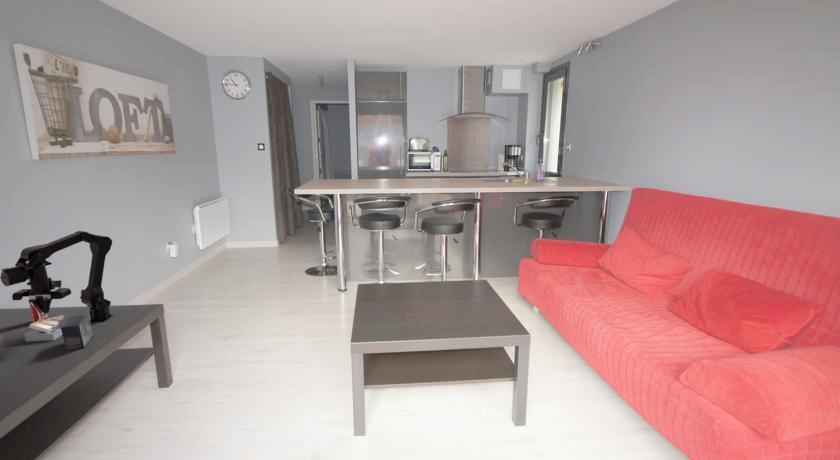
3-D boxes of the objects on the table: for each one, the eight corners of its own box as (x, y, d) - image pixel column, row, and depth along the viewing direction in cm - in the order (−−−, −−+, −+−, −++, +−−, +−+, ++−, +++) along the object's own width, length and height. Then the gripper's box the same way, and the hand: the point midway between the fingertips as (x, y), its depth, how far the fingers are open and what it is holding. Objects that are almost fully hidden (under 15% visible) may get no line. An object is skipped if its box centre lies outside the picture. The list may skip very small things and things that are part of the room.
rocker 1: (51, 329, 173) (52, 326, 172) (47, 332, 170) (48, 329, 170) (34, 325, 171) (34, 321, 171) (29, 327, 169) (30, 324, 169)
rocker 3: (64, 317, 179) (63, 314, 179) (60, 320, 177) (58, 316, 176) (49, 322, 179) (47, 318, 178) (44, 324, 176) (42, 321, 176)
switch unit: (73, 327, 181) (71, 319, 180) (54, 340, 171) (52, 331, 170) (46, 328, 180) (44, 320, 179) (25, 341, 170) (23, 332, 169)
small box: (75, 338, 172) (70, 315, 169) (94, 336, 174) (89, 313, 172) (64, 351, 162) (59, 327, 160) (84, 348, 165) (79, 324, 162)
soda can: (31, 321, 187) (25, 297, 184) (45, 317, 191) (40, 293, 188) (36, 324, 184) (30, 299, 181) (51, 319, 189) (45, 295, 186)
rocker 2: (58, 325, 176) (58, 321, 176) (54, 327, 174) (54, 324, 173) (40, 322, 175) (41, 318, 175) (36, 324, 173) (36, 321, 172)
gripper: (77, 270, 175) (84, 304, 178) (30, 271, 173) (38, 305, 177) (57, 279, 164) (65, 315, 168) (6, 281, 162) (15, 317, 166)
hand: (46, 313), depth 170 cm, fingers closed
